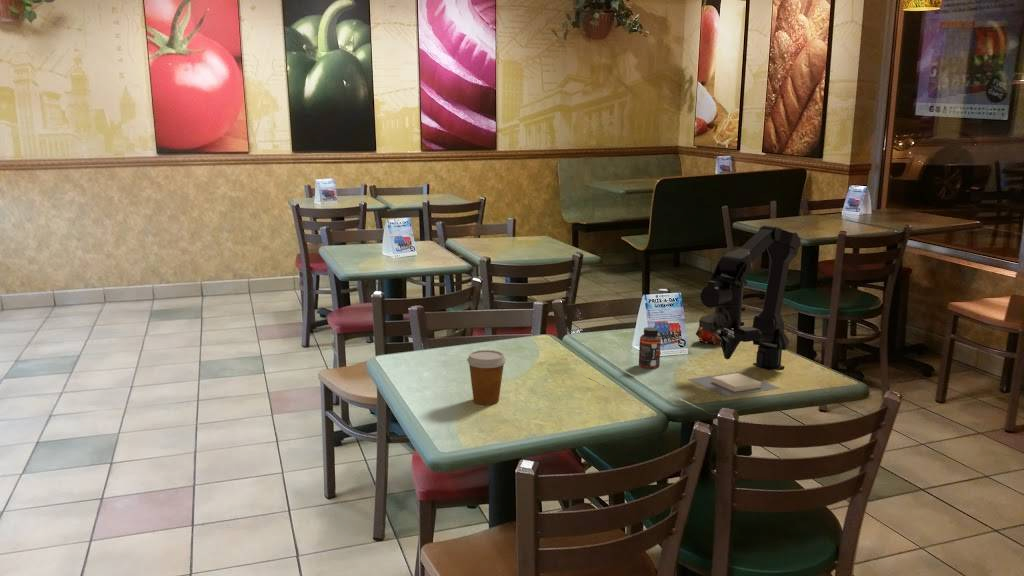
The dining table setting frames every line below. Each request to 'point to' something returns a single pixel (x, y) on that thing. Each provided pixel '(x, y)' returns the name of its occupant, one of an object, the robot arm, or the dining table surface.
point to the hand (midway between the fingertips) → (727, 358)
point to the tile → (736, 382)
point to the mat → (726, 392)
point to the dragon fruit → (706, 336)
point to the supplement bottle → (649, 348)
